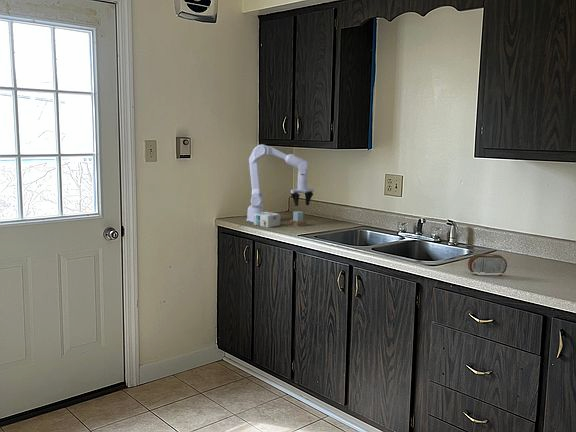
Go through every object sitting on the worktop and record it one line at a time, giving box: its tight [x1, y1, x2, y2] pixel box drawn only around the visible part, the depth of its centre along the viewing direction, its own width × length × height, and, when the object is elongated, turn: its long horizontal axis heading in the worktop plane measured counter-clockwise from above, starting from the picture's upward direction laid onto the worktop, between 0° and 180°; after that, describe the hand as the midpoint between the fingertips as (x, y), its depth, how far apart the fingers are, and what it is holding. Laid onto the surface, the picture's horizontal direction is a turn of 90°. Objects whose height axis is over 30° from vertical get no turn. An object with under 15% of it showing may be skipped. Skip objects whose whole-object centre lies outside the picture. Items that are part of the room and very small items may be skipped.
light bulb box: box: [253, 211, 281, 229], centre depth 334 cm, size 11×7×11 cm
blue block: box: [292, 210, 304, 221], centre depth 338 cm, size 4×4×5 cm
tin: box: [467, 253, 508, 274], centre depth 237 cm, size 15×3×8 cm, turn 93°
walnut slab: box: [289, 219, 308, 227], centre depth 338 cm, size 7×7×3 cm
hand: (301, 205), depth 343 cm, fingers open, 7 cm apart
